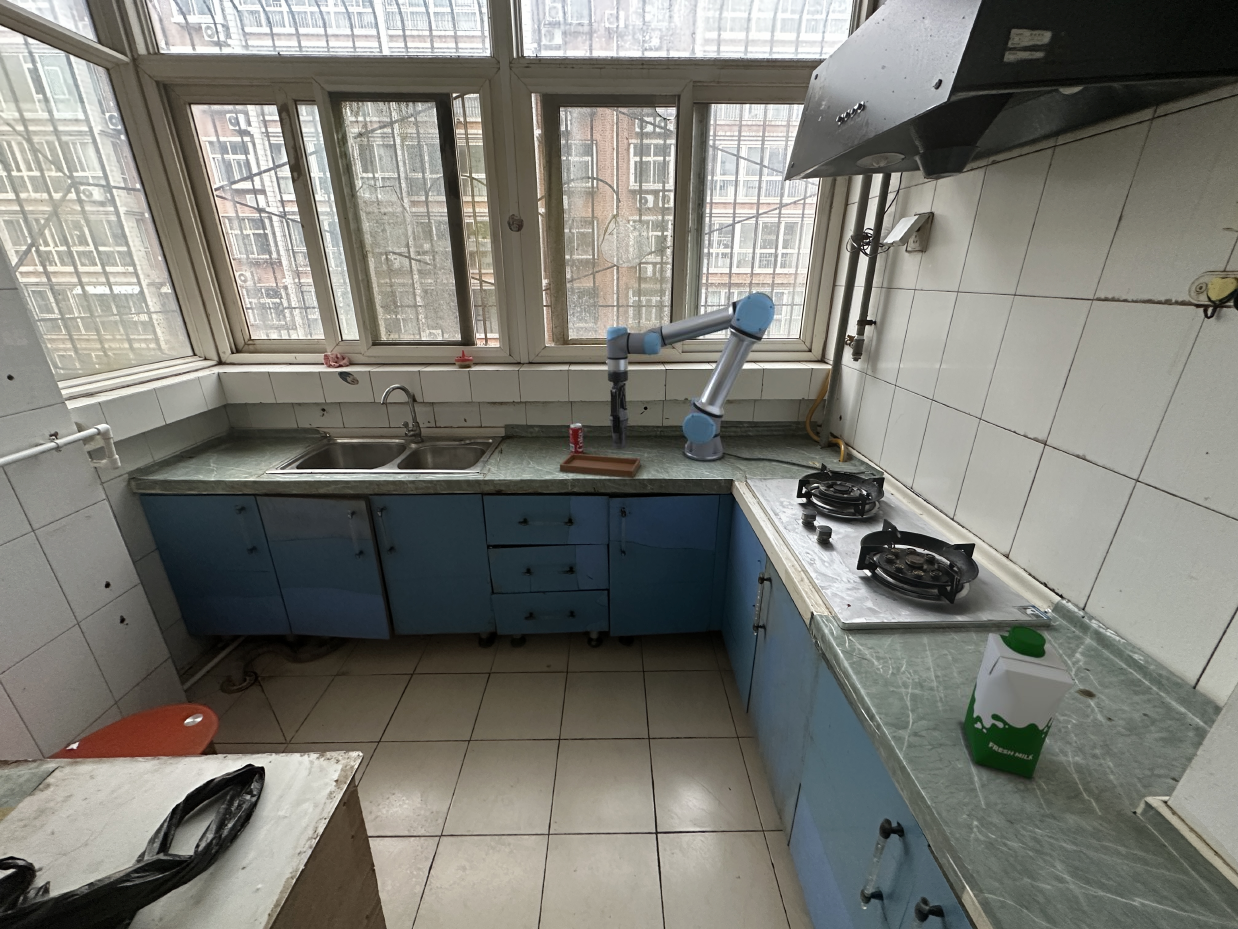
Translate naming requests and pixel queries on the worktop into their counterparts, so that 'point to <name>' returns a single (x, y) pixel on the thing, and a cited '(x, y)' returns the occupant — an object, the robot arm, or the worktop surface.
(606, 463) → the tray
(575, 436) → the soda can
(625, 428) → the beverage cup
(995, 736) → the milk carton
